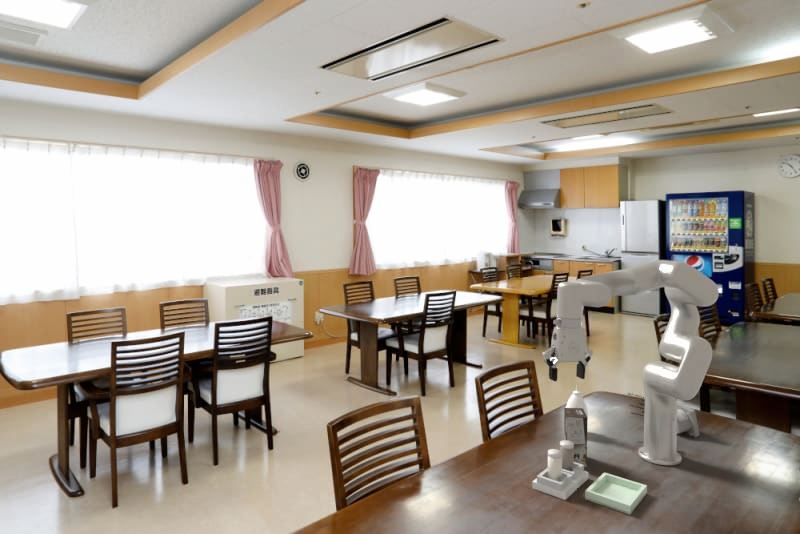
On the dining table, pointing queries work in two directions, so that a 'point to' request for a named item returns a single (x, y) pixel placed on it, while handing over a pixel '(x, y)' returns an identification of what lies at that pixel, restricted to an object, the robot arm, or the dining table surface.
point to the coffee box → (576, 432)
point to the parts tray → (616, 493)
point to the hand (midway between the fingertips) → (566, 378)
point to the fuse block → (559, 477)
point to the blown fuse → (567, 455)
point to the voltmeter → (682, 419)
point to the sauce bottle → (577, 401)
